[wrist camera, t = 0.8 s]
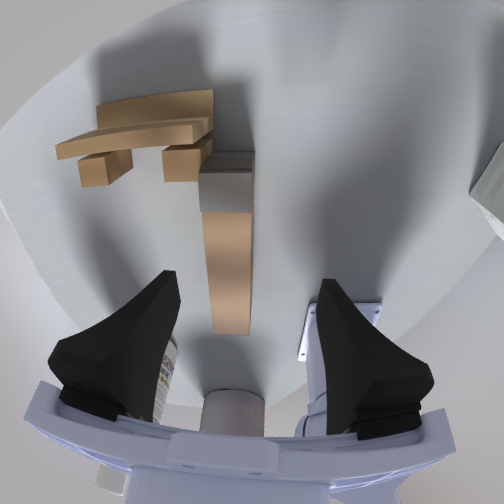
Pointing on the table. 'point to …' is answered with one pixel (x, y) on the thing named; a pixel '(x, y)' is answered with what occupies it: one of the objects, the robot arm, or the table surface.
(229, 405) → the pillar candle
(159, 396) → the bath foam
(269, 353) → the table surface
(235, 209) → the brown wooden block
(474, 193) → the supplement box
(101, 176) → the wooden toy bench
